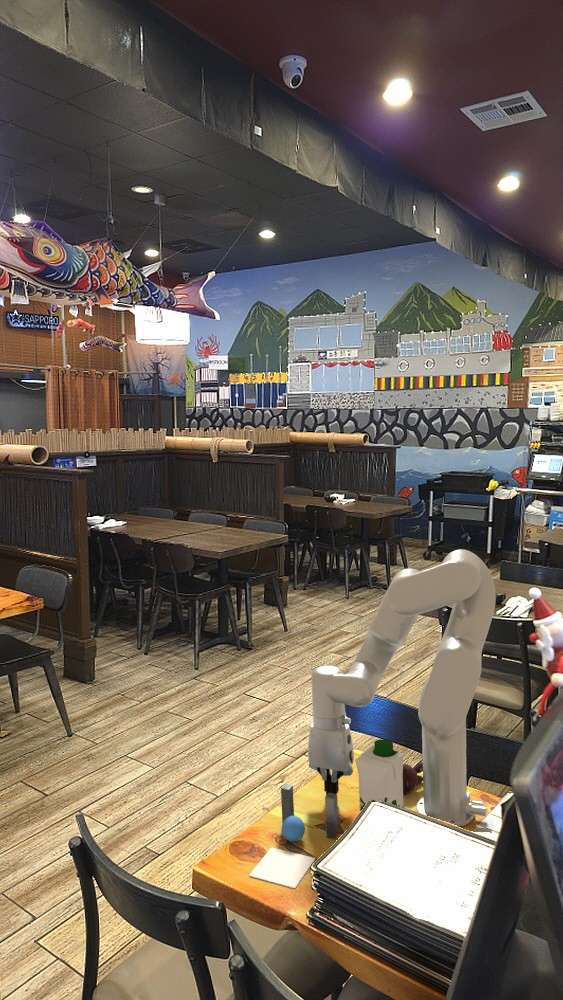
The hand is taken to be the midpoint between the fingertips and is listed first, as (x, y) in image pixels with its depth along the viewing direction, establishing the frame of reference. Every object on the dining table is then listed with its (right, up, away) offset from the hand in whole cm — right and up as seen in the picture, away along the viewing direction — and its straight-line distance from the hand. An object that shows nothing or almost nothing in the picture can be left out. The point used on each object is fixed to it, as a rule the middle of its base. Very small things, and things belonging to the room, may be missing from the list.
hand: (331, 794), depth 164 cm
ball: (-9, -1, -15) cm, 18 cm away
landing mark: (-12, -4, -24) cm, 27 cm away
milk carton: (+10, -3, -15) cm, 18 cm away
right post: (-1, -3, -14) cm, 14 cm away
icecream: (+17, -1, +3) cm, 18 cm away
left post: (-10, -3, -9) cm, 14 cm away
